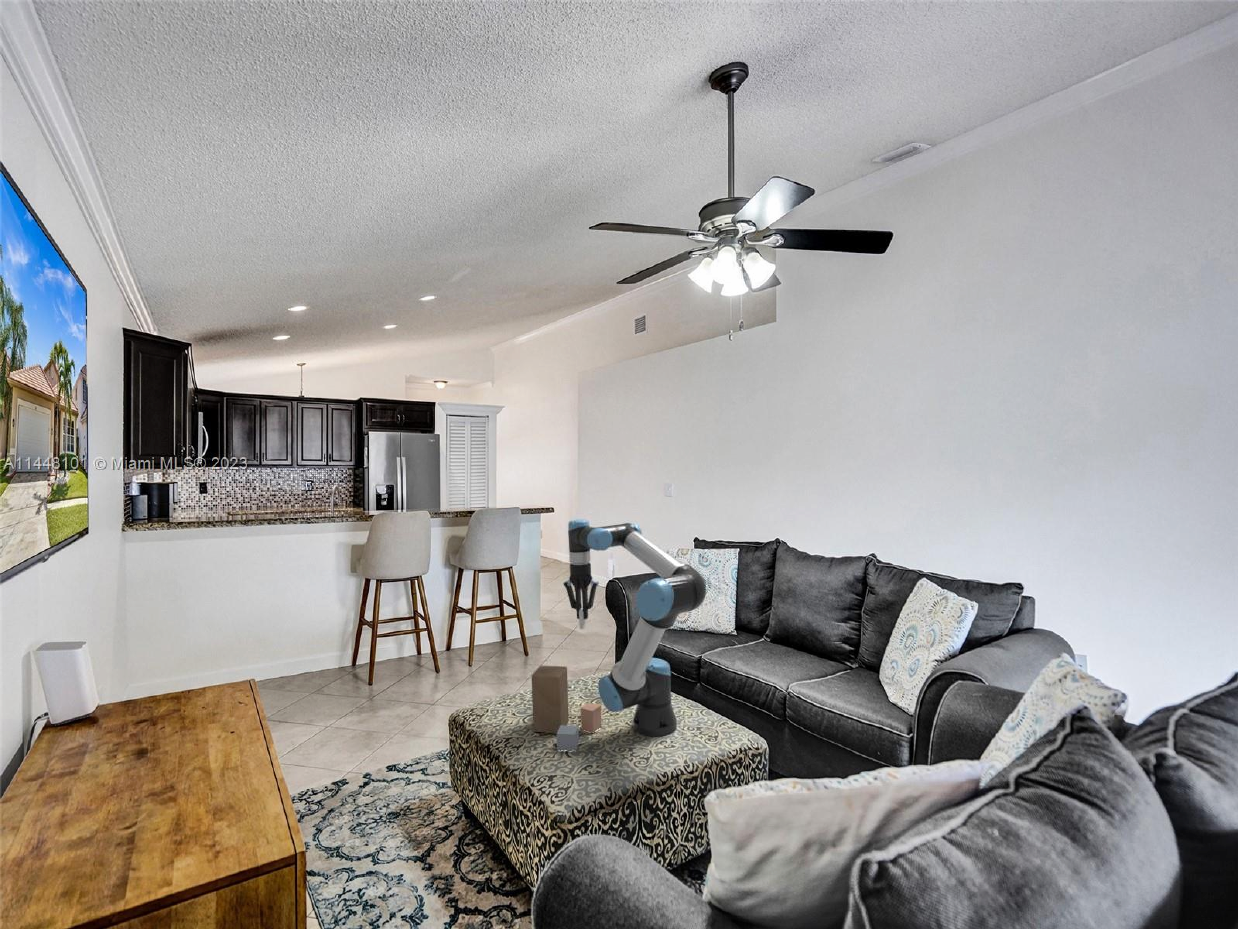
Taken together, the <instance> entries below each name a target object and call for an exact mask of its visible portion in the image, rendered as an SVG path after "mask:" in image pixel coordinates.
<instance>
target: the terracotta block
mask: <svg viewBox="0 0 1238 929" xmlns="http://www.w3.org/2000/svg"><path fill="white" fill-rule="evenodd" d="M580 723H581V724H580V725H581V726H580V728H581V729H582V730H585V731H589V732H595V731H596V730H597V729H599V728H601V727H602V726H603V725H602V705H600V704H597V703H592V702H588V703H586V704H584V705H583V706H581V707H580ZM601 729H602V728H601Z"/></svg>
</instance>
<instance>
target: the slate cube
mask: <svg viewBox="0 0 1238 929" xmlns="http://www.w3.org/2000/svg"><path fill="white" fill-rule="evenodd" d="M579 734H580V732H579V725H572V724H571V725H570V724H569V725H568V724H567V725H560V727H559V730H558V732H557V734H556V750H560V751H561V750H570V751H572V750H574V751H575V750H576V748H577V749H578V747H579V745H578V743H579V744H580V735H579ZM577 746H578V747H577ZM576 751H577V750H576Z"/></svg>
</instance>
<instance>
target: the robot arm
mask: <svg viewBox="0 0 1238 929" xmlns="http://www.w3.org/2000/svg"><path fill="white" fill-rule="evenodd" d="M567 528H568V530H567V533H568V536H567V537H568V549H569V550H568V553H569V563H570V564H569V574H570V575H569V578H568V580H566V581H564V582H563V586H564V587H565V589H566V593H567V597H568V600H569V603H570V607H571V609H573V610H576V619H577V620H579V622H578V623H579V630H584V629H586V628H587V619H588V618H589V610H591V609H592V608H593V606H594V602H595V597H596V592H597V591H596V590H597V587H598V586H599V584H600V583H599V581H596V580H594V579H593V576H592V567H591V566H592V564H591V550H593V551H595V552H596V551H597V552H599V551H603V552H604V551H607V550H608V549H609V548H613V547H623V548H624V549H625V550H626V551H628V552H629V553H630V554H632V555H633V556H634V557H635V558H636V559H638V560H639V561H640V562H641V563H643V564H644V565H645V566H646V567H648V568H649V569H650V570H652V571H653V572H654V573H656V574H657V575H658V576H659V577H655V578H652V579H650V580H646V581H645V582H643V583H642V584H641V585H640V587H639V588H638V590H637V593H636V598H635V599H636V601H637V602H636V609H637V611H638V614H639V615H638V616H640V617H639V619H638V621H637V624H636V626H635V628H634V630H633V633H632V635H631V637H630V639H629V642H628V644H627V647H626V649H625V650H624V653H623V655H622V657H621V659H620V660H619V661H618V662H616V663H615V664H613V666H612V668H611V671H610V673H609V674H608V675H604V676H602V677H601V678H600V679H599V680H598V683H597V684H598V685H597V687H598V689H597V690H598V693H599V697H600V700H601V703H602V704H603V706H604V707H605V708H606V709H607V710H608V711H609V712H612V713H616V712H622V711H624V710H626V709H629V708H632V707H635V706H636V708H635V712H634V715H633V717H632V728H633V729H634V731H636V732H637V733H638V734H641V735H644V736H648V737H661V736H662V737H663V736H667V735H669V734H671V733H673V732H675V731H676V730H677V727H678V724H677V723H678V721H677V716H676V714H675V711H674V708H673V705H672V685H671V684H672V683H671V682H672V679H671V678H672V677H671V676H672V673H671V666H670V663H669V662H668V661H667V660H664V659H662V658H656V657H653V656H654V654H655V652H656V651H657V648H658V647H659V643H660V641H661V640H662V637H663V636H664V633H665V632H666V630H669V629H671V628H672V627H673V626H674V624H675V622H676V620H677V618H678V616H679V615H680V614H684V613H688V612H691V611H694V610H696V609H698V608H699V607H700V606H701V605H702V604H703V602H704V601H705V600H706V595H707V585H706V582H705V579H704V578H703V576H702V575H701V573H699V571H698V570H696V569H695V568H694V567H692V566H691V565H689V564H688V563H682V562H681V561H679V560H677V559H676V558H675V557H674V556H672V555H670V554H669V553H668V552H666V551H665V549H662V548H661V547H659V545H657V544H655V543H654V542H653V541H652V540H650V539H649V538H648V537H646V536H645V535H643V533H642V529H641V527H640V525H639V524H637V523H636V522H625V523H621V524H613V525H606V526H605V525H604V526H598V527H592V526H590V521H589V520H588V519H581V518H580V519H572V520H570V521H568V526H567ZM589 586H590V587H591V588H590V592H589V594H588V591H589ZM573 587H574V590H573ZM574 593H575V594H574ZM588 596H589V597H588Z"/></svg>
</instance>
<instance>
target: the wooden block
mask: <svg viewBox="0 0 1238 929" xmlns="http://www.w3.org/2000/svg"><path fill="white" fill-rule="evenodd" d="M568 690H569V688H568V667H567V666H556V665H540V666H539V667H538V668H537V669H536V670H535V671H534V672H533V674H532V675H531V701H532V724H533V726H532V728H533V733H535V732H545V733H544V734H549V733H557V732H558V730H559V727H560V725H568V723H569V721H570V720H569V718H570V714H569V691H568Z"/></svg>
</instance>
